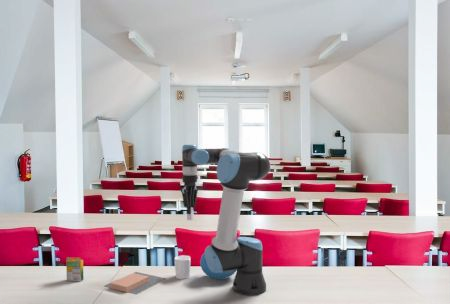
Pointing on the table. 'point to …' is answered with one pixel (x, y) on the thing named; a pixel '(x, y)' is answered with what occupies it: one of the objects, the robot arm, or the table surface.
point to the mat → (152, 281)
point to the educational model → (214, 275)
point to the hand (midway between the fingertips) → (190, 219)
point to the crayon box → (74, 269)
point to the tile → (129, 282)
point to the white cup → (182, 266)
